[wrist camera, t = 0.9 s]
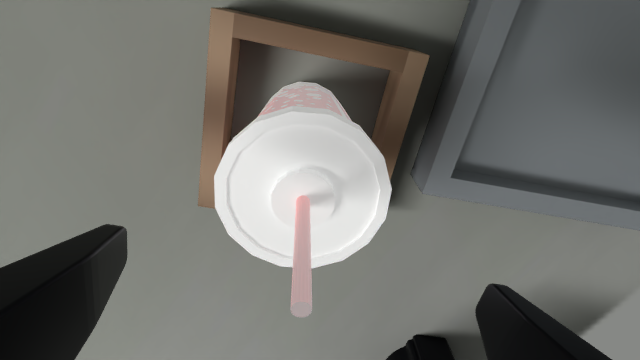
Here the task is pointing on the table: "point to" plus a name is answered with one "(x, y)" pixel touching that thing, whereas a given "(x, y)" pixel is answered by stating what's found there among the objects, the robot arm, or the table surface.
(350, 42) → the square frame
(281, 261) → the beverage cup
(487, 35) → the tray
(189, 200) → the table surface
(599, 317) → the table surface
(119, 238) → the robot arm
